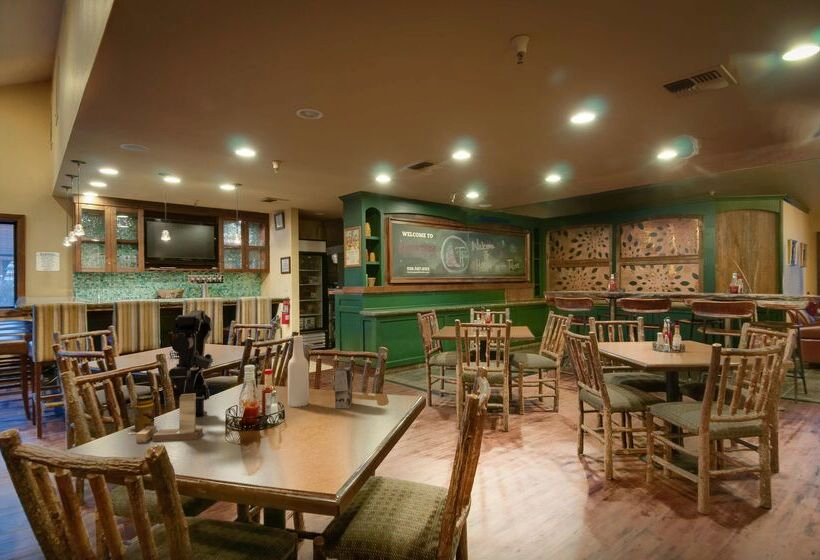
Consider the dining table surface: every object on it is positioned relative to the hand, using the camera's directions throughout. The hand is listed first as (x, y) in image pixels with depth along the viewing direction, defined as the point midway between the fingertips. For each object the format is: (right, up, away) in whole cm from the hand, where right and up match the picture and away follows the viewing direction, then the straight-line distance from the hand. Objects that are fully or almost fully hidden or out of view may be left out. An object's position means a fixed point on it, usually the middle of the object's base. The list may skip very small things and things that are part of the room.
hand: (187, 391), depth 162 cm
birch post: (+5, -11, -11) cm, 16 cm away
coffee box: (+53, -14, +29) cm, 62 cm away
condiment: (-15, -13, -3) cm, 20 cm away
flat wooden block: (+2, -13, -11) cm, 17 cm away
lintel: (-8, -13, -12) cm, 19 cm away
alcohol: (+33, -14, +31) cm, 47 cm away
